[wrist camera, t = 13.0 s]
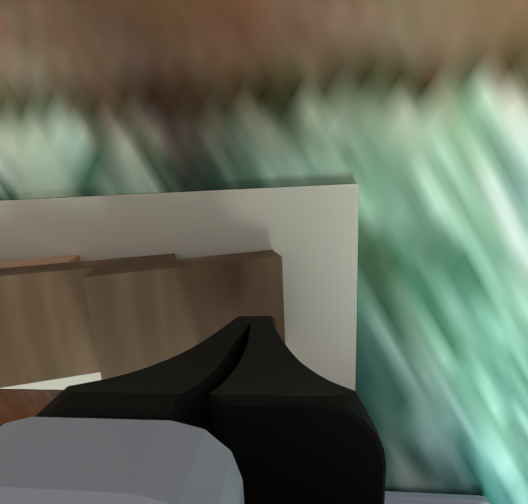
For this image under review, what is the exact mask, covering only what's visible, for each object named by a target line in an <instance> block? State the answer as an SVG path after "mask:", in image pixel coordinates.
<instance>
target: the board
mask: <svg viewBox="0 0 528 504" xmlns="http://www.w3.org/2000/svg"><path fill="white" fill-rule="evenodd" d="M358 206H359V184H339V185H318V186H296V187H275V188H254V189H233V190H212V191H191V192H170V193H149V194H128V195H106V196H85V197H64V198H43V199H22V200H1V201H0V262H4V261H16V260H27V259H39V258H50V257H62V256H73V255H79V258H80V262H82V261H93V260H105V259H116V258H127V257H139V256H150V255H162V254H173V253H175V259H185V258H195V257H205V256H215V255H225V254H235V253H245V252H255V251H265V250H274V251H275V252H276V253H278V254H279V255H280V256H282V272H283V297H284V323H285V344H286V346H287V347H288V348H289V350H290V351H291V352H292V353H293V355H294V356H295V357H296V358H297V359H298V360H299V361H300V362H301V363H302V364H304V365H305V366H306V367H308V368H309V369H310V370H312V371H313V372H315V373H317V374H318V375H320V376H322V377H324V378H325V379H327V380H329V381H331V382H334V383H336V384H339V385H341V386H344V387H346V388H349V389H351V390H354V391H355V382H356V323H357V264H358ZM98 380H102V379H101V373H100V372H98V373H92V374H86V375H79V376H73V377H67V378H60V379H54V380H48V381H41V382H35V383H29V384H22V385H16V386H10V387H3V388H2V389H58V390H64V389H65V388H66V387H68V386H71V385H77V384H83V383H88V382H93V381H98Z"/></svg>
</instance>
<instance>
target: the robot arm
mask: <svg viewBox="0 0 528 504" xmlns="http://www.w3.org/2000/svg"><path fill="white" fill-rule="evenodd" d="M385 478H386V462H385V453H384V449H383V446H382V443H381V440H380V437H379V435H378V432H377V430H376V428H375V426H374V424H373V422H372V420H371V418H370V416H369V414H368V412H367V410H366V408H365V407H364V405H363V403H362V402H361V400H360V398H359V397H358V395H357V393H356V392H355V391H354V390H351V389H349V388H346V387H344V386H341V385H339V384H336V383H334V382H331V381H329V380H327V379H325V378H324V377H322V376H320V375H318V374H317V373H315V372H313V371H312V370H310V369H309V368H308V367H306V366H305V365H304V364H302V363H301V362H300V361H299V360H298V359H297V358H296V357H295V356H294V355H293V353H292V352H291V351H290V350H289V348H288V347H287V346H286V344H285V343H284V341H283V340H282V338H281V336H280V334H279V333H278V331H277V328H276V326H275V319H274V318H273V317H272V316H239V317H237V318H235V319H234V320H233V321H231V322H230V323H228V324H227V325H226V326H224V327H223V328H222V329H220V330H219V331H217V332H216V333H215V334H213V335H212V336H210V337H208V338H207V339H205V340H204V341H202V342H201V343H199V344H197V345H196V346H194V347H192V348H190V349H189V350H187V351H185V352H183V353H181V354H179V355H177V356H174V357H172V358H170V359H167V360H165V361H162V362H160V363H157V364H154V365H152V366H149V367H147V368H144V369H141V370H137V371H134V372H131V373H127V374H123V375H120V376H116V377H112V378H108V379H103V380H98V381H93V382H88V383H83V384H77V385H71V386H68V387H66V388H65V389H64V390H63V391H62V392H61V393H60V394H59V395H58V396H57V397H56V398H54V399H53V400H52V401H51V402H50V403H49V404H48V405H47V406H46V407H45V408H43V409H42V410H41V411H40V412H39V413H38V414H37V415H36V416H35V417H30V418H26V419H21V420H17V421H13V422H9V423H5V424H4V425H3V426H1V427H0V504H490V503H489V501H488V500H487V498H486V497H484V496H480V495H459V494H438V493H417V492H395V491H385Z"/></svg>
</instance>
